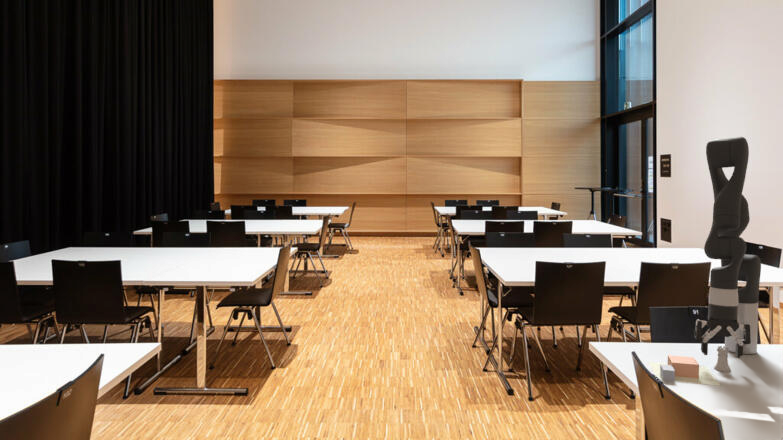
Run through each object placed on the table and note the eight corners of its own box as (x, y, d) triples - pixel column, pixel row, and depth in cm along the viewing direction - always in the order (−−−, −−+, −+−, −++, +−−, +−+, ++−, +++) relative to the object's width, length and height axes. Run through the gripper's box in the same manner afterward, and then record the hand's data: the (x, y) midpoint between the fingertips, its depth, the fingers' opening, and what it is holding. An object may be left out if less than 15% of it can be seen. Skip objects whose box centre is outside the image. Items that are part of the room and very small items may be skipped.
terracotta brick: (667, 368, 162) (667, 355, 162) (693, 370, 160) (693, 357, 160) (671, 375, 155) (672, 362, 155) (698, 378, 153) (699, 364, 153)
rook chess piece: (733, 376, 158) (734, 349, 158) (717, 375, 159) (717, 349, 158) (727, 371, 162) (728, 345, 162) (711, 370, 163) (712, 344, 163)
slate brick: (660, 374, 157) (660, 364, 157) (671, 375, 156) (671, 365, 156) (663, 380, 152) (663, 369, 152) (674, 381, 151) (675, 370, 151)
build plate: (649, 365, 168) (649, 362, 168) (706, 370, 163) (706, 367, 163) (657, 383, 153) (657, 379, 153) (720, 389, 148) (720, 385, 148)
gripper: (746, 301, 161) (744, 354, 161) (693, 298, 165) (692, 350, 166) (754, 306, 154) (752, 362, 154) (699, 303, 158) (697, 357, 159)
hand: (721, 355), depth 160 cm, fingers open, 8 cm apart
